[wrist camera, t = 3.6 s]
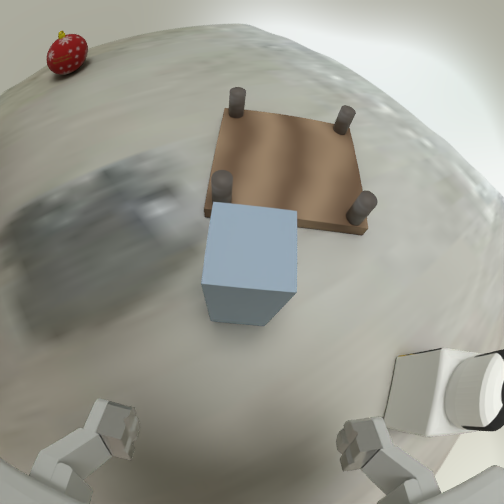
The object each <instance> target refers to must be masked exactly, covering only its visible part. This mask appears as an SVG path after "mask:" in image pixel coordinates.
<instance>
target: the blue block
mask: <svg viewBox="0 0 504 504" xmlns="http://www.w3.org/2000/svg"><path fill="white" fill-rule="evenodd" d="M201 285H202V289H203V293H204V297H205V301H206V304H207V308H208V312H209V316H210V320H211V321H215V322H224V323H235V324H246V325H258V326H265V325H266V324H267V323H268V322H269V321H270V320H271V319H272V318H273V317H274V316H275V315H276V314H277V313H278V312H279V311H280V309H281V308H282V307H283V306H284V305H285V304H286V303H287V302H288V301H289V300H290V299H291V298H292V297H293V296H294V295H295V294H296V293H297V211H292V210H284V209H276V208H268V207H259V206H250V205H241V204H231V203H221V202H213V206H212V212H211V219H210V225H209V232H208V238H207V245H206V252H205V259H204V266H203V274H202V281H201Z"/></svg>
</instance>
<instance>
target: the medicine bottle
mask: <svg viewBox="0 0 504 504" xmlns="http://www.w3.org/2000/svg"><path fill="white" fill-rule="evenodd" d="M384 422H385V425H386V427H387V428H390V429H394V430H398V431H402V432H407V433H411V434H415V435H420V436H425V437H434V436H445V435H455V434H462V433H469V432H475V431H478V430H479V431H496V430H498V429H500V428H501V427H502V426H503V425H504V349H503V350H499V351H494V352H490V353H486V354H482V353H475V352H468V351H462V350H456V349H450V348H439V349H434V350H429V351H424V352H418V353H413V354H407V355H401V356H398V357H397V359H396V364H395V370H394V375H393V381H392V386H391V391H390V395H389V400H388V404H387V409H386V413H385V417H384Z"/></svg>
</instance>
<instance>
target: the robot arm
mask: <svg viewBox="0 0 504 504" xmlns="http://www.w3.org/2000/svg"><path fill="white" fill-rule="evenodd" d="M135 415H136V410H135V407H131V406H127V405H123V404H119V403H115V402H111V401H108V400H105V399H101V398H98V399H97V400H96V401H95V403H94V405H93V407H92V410H91V412H90V414H89V416H88V418H87V421H86V423H85V425H84V428H78V429H77V430H75V431H73V432H72V433H70V434H68V435H67V436H65V437H63V438H62V439H60V440H58V441H57V442H55V443H53V444H51V445H50V446H48V447H46V448H45V449H43V450H41V451H40V452H39V454H38V456H37V458H36V461H35V463H34V465H33V467H32V470H31V472H30V474H29V476H28V475H27V474H25V473H23V472H22V471H20V470H18V469H17V468H15V467H14V466H12V465H11V464H9V463H7V462H6V461H4V460H3V459H2V458H0V504H90V501H91V497H92V493H93V490H92V488H91V487H90V486H89V485H88V484H87V483H86V482H85V481H84V479H85V478H87V477H88V476H89V475H90V474H91V473H93V472H94V471H95V470H96V469H98V468H99V467H100V466H101V465H102V464H104V463H105V462H106V461H107V460H108V459H110V458H111V457H112V456H115V457H119V458H123V459H127V460H132V457H133V453H134V449H135V446H134V444H133V442H134V441H135V440H137V439H138V435H139V429H140V423H139V419H138V418H137V417H136V416H135ZM336 446H337V450H338V451H339V452H340V453H341V454H342V456H341V457H340V462H341V466H342V470H343V471H350V470H357V469H361V470H362V471H363V472H364V473H365V474H366V476H367V477H368V478H369V479H370V480H371V481H372V482H373V483H374V484H376V485H377V486H378V487H379V488H380V489H381V490H382V491H383V492H384V493H385V494H386V496H385V497H383V498H382V499H381V500H379V501H378V502H377V504H504V468H502V467H500V466H497V465H494V466H491V467H489V468H487V469H486V470H484V471H482V472H481V473H479V474H477V475H476V476H474V477H472V478H470V479H468V480H467V481H465V482H463V483H461V484H459V485H457V486H455V487H453V488H451V489H449V490H447V491H445V492H443V493H441V491H440V489H439V486H438V484H437V481H436V479H435V476H434V474H433V471H432V470H430V469H429V468H427V467H426V466H425V465H423V464H422V463H420V462H419V461H417V460H416V459H415V458H413V457H412V456H411V455H409V454H408V453H406V452H405V451H404V450H402V449H401V448H400V447H398V446H394V445H393V442H392V440H391V437H390V435H389V432H388V430H387V427H386V425H385V422H384V420H383V418H382V417H379V416H378V417H372V418H363V419H356V420H348V421H346V422H345V424H344V429H342V430H341V431H339V433H338V435H337V439H336ZM111 455H112V456H111Z"/></svg>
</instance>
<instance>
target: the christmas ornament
mask: <svg viewBox="0 0 504 504" xmlns="http://www.w3.org/2000/svg"><path fill="white" fill-rule="evenodd" d="M58 37H59V39H57V40H56V41H55V42H54V43H53V44H52V46H51V47H50V49H49V51H48V53H47V65H48V67H49V69H50V70H51V71H52V72H54V73H56V74H60V75H64V74H69V73H71V72H73V71H75V70H77V69H78V68H79V67H80V66H81V65H82V64H83V62H84V61H85V59H86V57H87V53H88V46H87V43H86V41H85V39H84V38H82V37H81V36H79V35H76V34H68V35H65V33H64V32H63V31H60V32H59V36H58Z"/></svg>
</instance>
